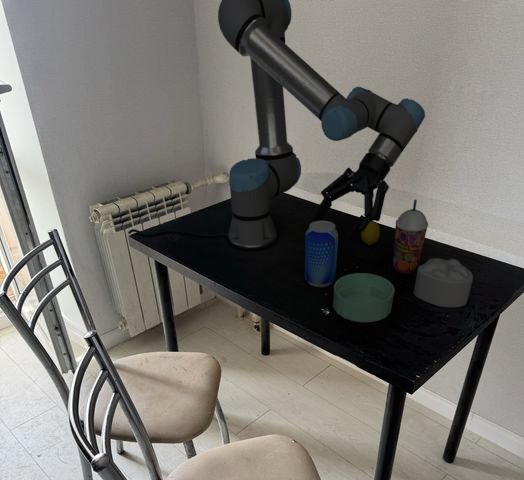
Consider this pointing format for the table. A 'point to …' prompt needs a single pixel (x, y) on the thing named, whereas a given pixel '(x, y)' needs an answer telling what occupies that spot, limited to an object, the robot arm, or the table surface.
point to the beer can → (321, 253)
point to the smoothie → (409, 240)
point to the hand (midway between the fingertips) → (331, 231)
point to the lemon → (371, 233)
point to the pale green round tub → (363, 297)
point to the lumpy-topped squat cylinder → (443, 283)
